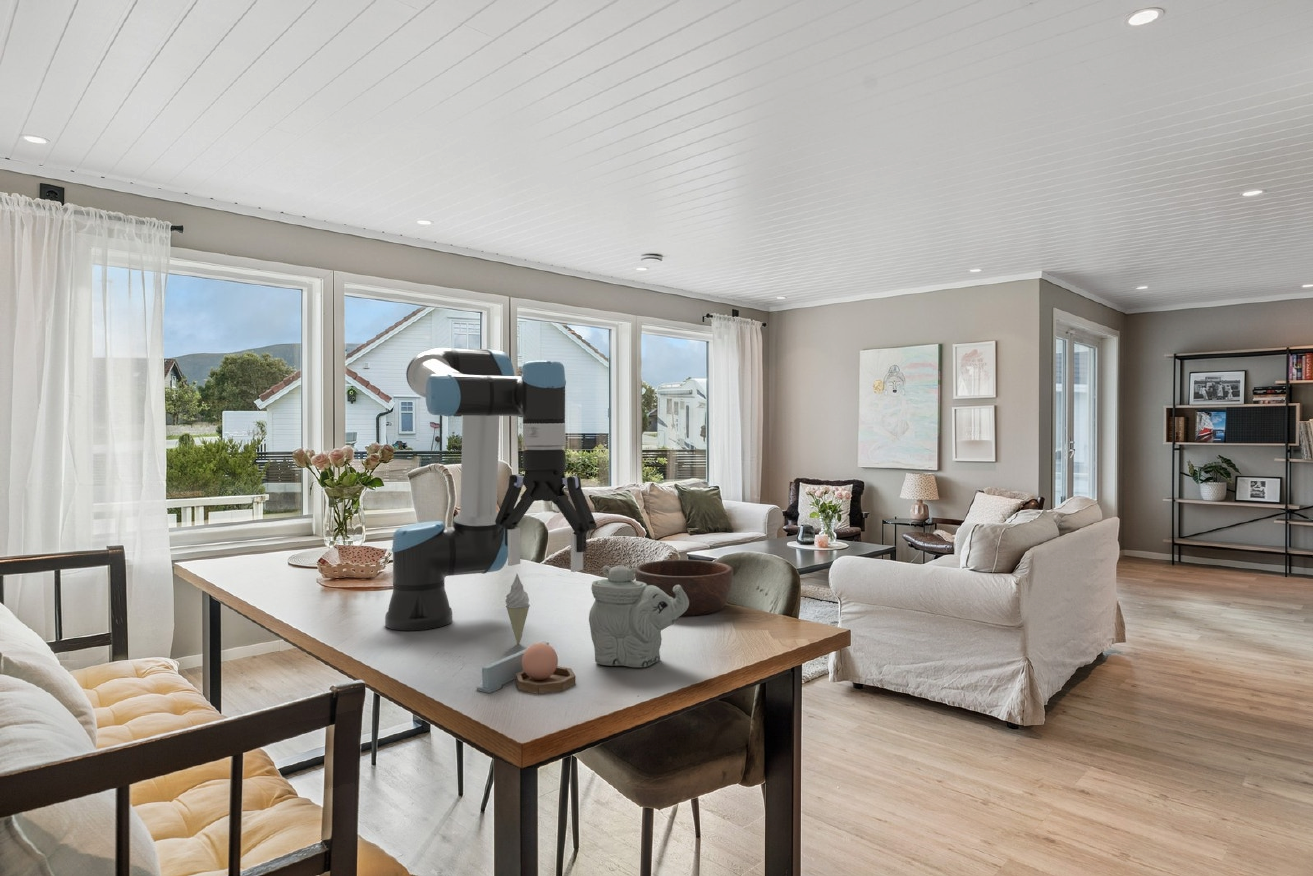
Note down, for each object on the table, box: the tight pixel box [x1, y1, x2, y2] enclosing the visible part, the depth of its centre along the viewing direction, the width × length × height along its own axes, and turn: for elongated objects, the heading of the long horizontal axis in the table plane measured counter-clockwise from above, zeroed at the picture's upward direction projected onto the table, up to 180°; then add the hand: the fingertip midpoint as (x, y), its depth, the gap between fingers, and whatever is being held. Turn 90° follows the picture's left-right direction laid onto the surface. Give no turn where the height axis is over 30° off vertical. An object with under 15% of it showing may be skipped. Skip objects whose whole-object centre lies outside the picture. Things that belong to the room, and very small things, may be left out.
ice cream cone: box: [505, 573, 531, 645], centre depth 160 cm, size 5×5×15 cm
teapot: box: [588, 564, 689, 668], centre depth 147 cm, size 16×15×19 cm
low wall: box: [476, 641, 550, 694], centre depth 139 cm, size 3×19×4 cm, turn 153°
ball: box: [522, 642, 559, 680], centre depth 136 cm, size 6×6×6 cm
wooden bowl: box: [634, 559, 734, 617], centre depth 193 cm, size 25×25×10 cm
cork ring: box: [515, 665, 577, 694], centre depth 135 cm, size 10×10×2 cm
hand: (544, 567), depth 135 cm, fingers open, 13 cm apart
